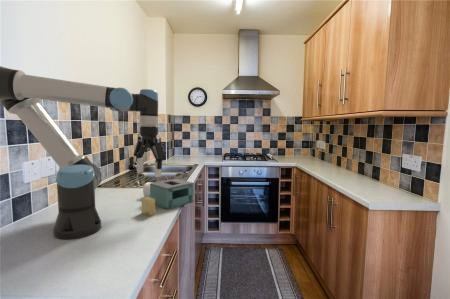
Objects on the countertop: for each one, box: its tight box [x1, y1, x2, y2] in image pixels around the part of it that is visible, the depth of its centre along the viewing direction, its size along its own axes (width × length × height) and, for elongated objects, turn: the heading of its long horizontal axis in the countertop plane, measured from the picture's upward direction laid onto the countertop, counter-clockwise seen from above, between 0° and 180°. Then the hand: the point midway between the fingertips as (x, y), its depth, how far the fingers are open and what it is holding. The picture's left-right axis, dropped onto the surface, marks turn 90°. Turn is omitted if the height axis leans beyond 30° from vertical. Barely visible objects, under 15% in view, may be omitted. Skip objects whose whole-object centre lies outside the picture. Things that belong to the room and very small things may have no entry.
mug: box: [142, 182, 151, 197], centre depth 138 cm, size 12×10×8 cm
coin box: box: [150, 178, 194, 210], centre depth 127 cm, size 16×14×10 cm
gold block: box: [141, 196, 156, 217], centre depth 111 cm, size 6×3×7 cm, turn 48°
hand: (148, 174), depth 112 cm, fingers open, 13 cm apart
